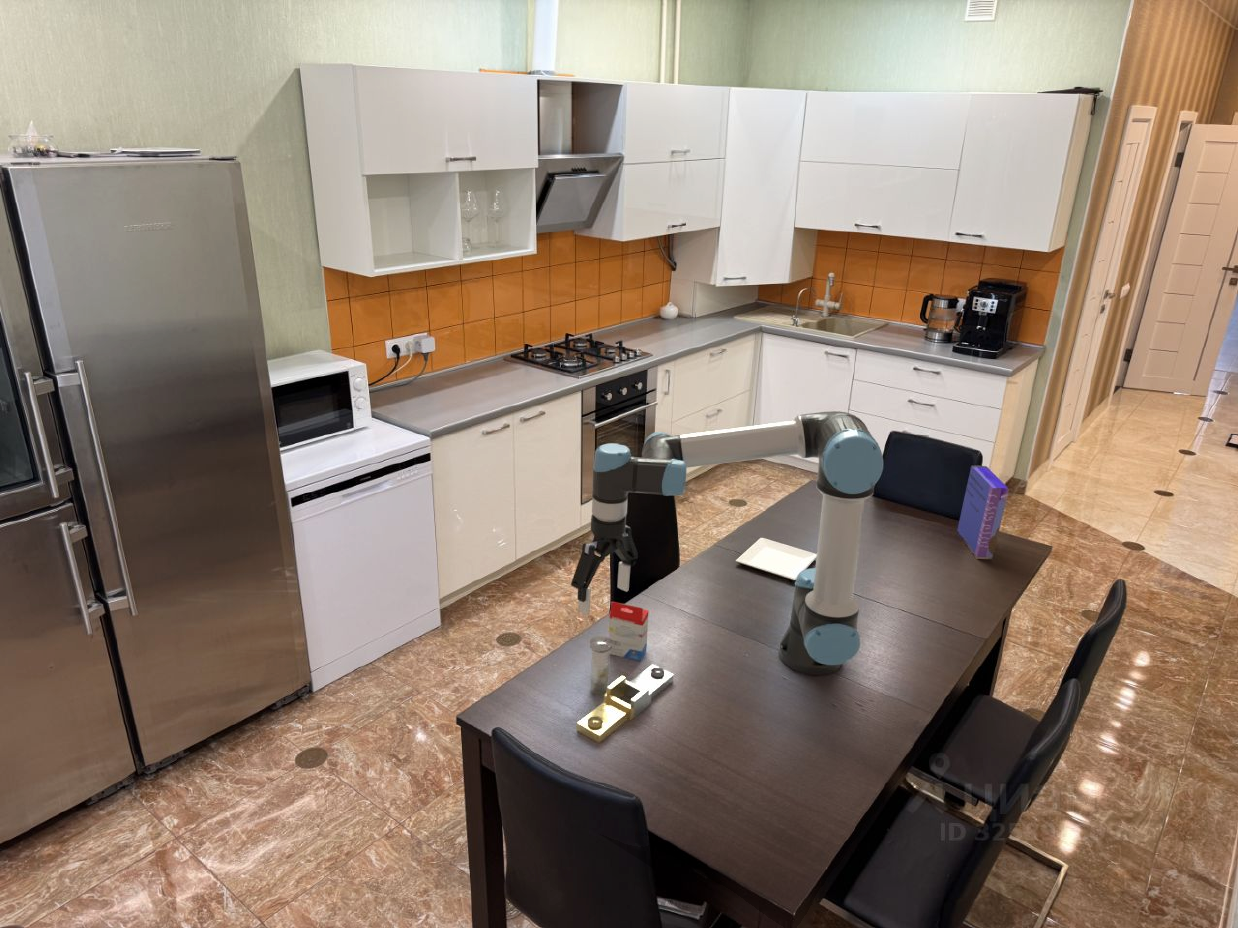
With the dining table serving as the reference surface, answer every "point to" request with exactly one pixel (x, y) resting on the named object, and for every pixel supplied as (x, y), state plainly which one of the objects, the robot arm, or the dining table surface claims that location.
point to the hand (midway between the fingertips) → (603, 600)
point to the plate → (777, 558)
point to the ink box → (628, 631)
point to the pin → (600, 664)
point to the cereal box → (982, 510)
